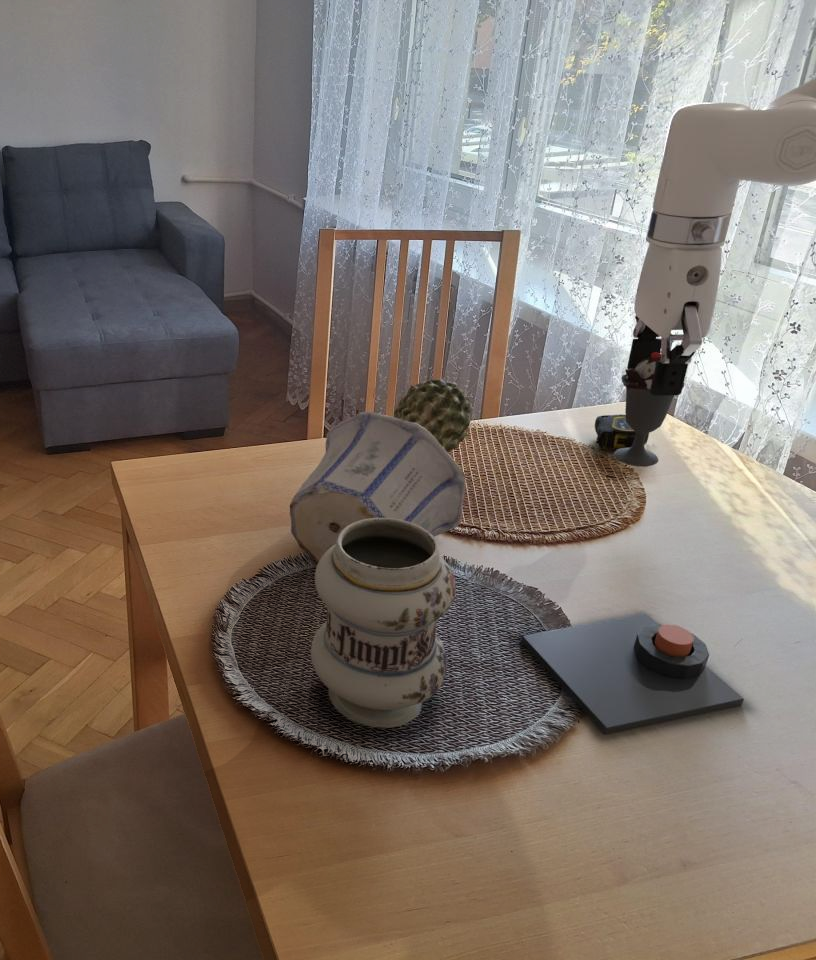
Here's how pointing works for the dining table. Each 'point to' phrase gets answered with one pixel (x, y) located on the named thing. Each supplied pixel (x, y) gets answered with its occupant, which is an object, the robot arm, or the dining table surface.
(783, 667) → the dining table surface
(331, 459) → the potted plant
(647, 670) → the scale
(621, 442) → the tape measure
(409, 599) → the apothecary jar
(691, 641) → the button
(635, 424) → the sundae
